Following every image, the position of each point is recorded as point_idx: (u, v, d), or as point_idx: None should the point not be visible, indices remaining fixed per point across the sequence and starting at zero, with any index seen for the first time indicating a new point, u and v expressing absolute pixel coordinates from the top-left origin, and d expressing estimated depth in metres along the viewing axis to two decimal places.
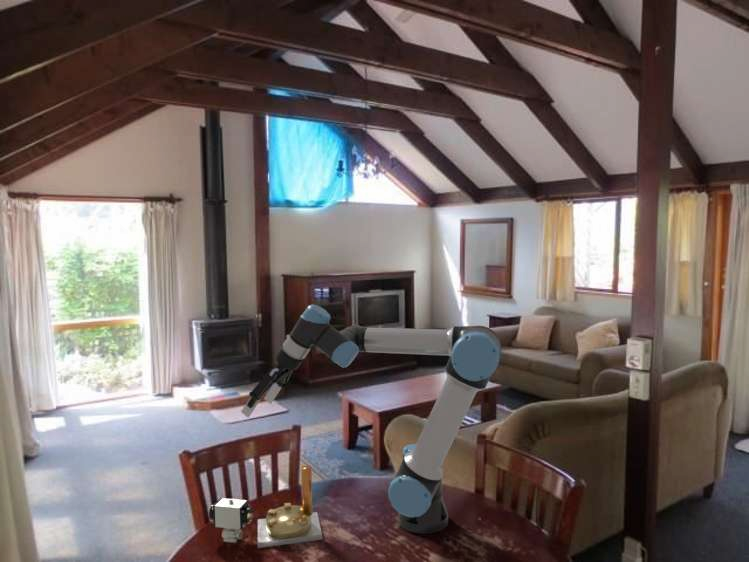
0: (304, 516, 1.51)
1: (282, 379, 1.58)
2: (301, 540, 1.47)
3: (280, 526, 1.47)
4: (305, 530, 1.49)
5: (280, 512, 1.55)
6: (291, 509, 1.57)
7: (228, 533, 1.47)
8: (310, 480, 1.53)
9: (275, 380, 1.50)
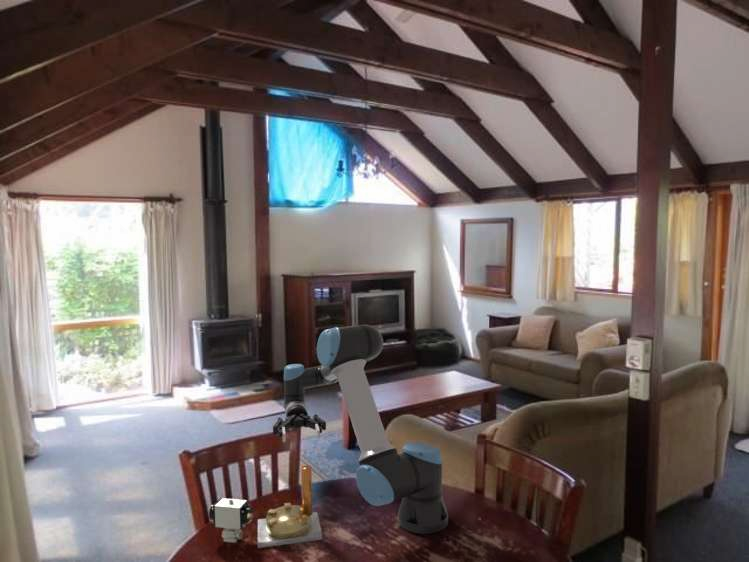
0: (304, 516, 1.51)
1: (309, 422, 1.75)
2: (301, 540, 1.47)
3: (280, 526, 1.47)
4: (305, 530, 1.49)
5: (280, 512, 1.55)
6: (291, 509, 1.57)
7: (228, 533, 1.47)
8: (310, 480, 1.53)
9: None
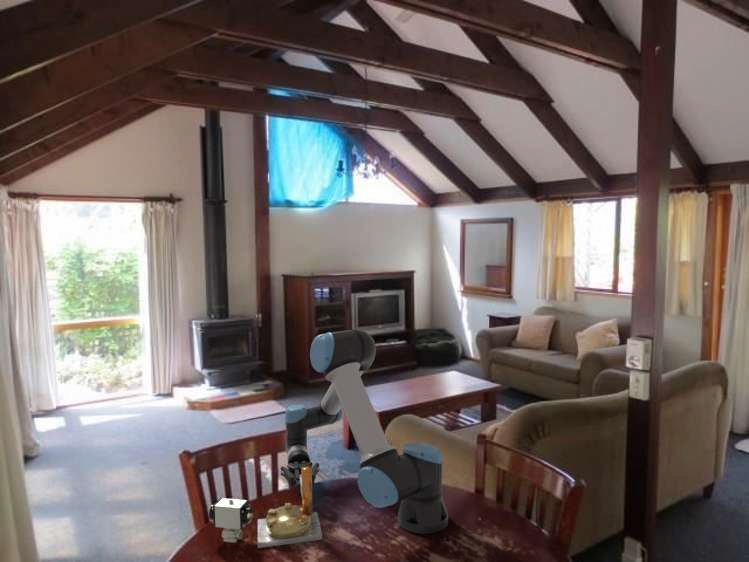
0: (304, 516, 1.51)
1: None
2: (301, 540, 1.47)
3: (280, 526, 1.47)
4: (305, 530, 1.49)
5: (280, 511, 1.55)
6: (291, 509, 1.57)
7: (228, 533, 1.47)
8: (310, 480, 1.52)
9: (294, 468, 1.68)
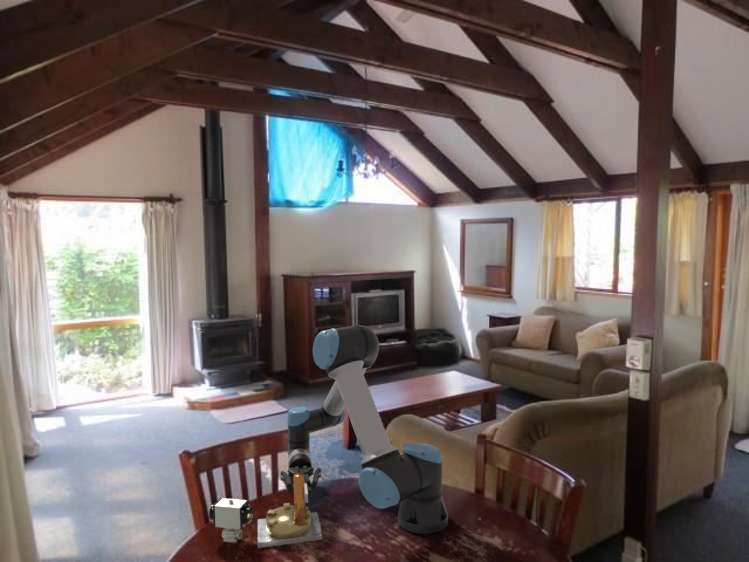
0: (289, 522, 1.48)
1: (304, 477, 1.62)
2: (301, 540, 1.47)
3: (268, 519, 1.51)
4: (284, 536, 1.46)
5: (292, 509, 1.57)
6: None
7: (228, 533, 1.47)
8: (298, 489, 1.47)
9: (294, 473, 1.64)
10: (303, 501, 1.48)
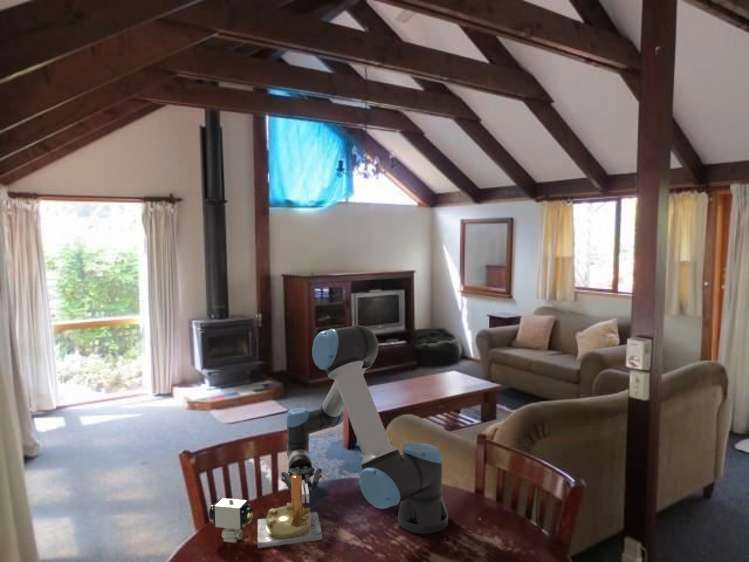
0: (286, 522, 1.47)
1: (305, 478, 1.61)
2: (301, 540, 1.47)
3: (268, 518, 1.52)
4: (281, 536, 1.47)
5: None
6: None
7: (228, 533, 1.47)
8: (295, 490, 1.46)
9: None
10: (300, 502, 1.47)
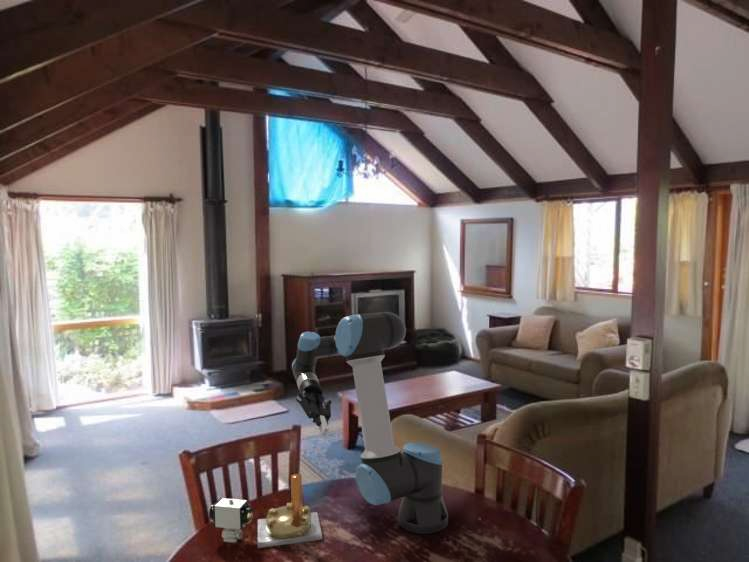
0: (286, 522, 1.47)
1: (319, 407, 1.74)
2: (301, 540, 1.47)
3: (268, 518, 1.52)
4: (281, 536, 1.47)
5: None
6: None
7: (228, 533, 1.47)
8: (295, 490, 1.46)
9: (312, 400, 1.74)
10: (300, 502, 1.47)
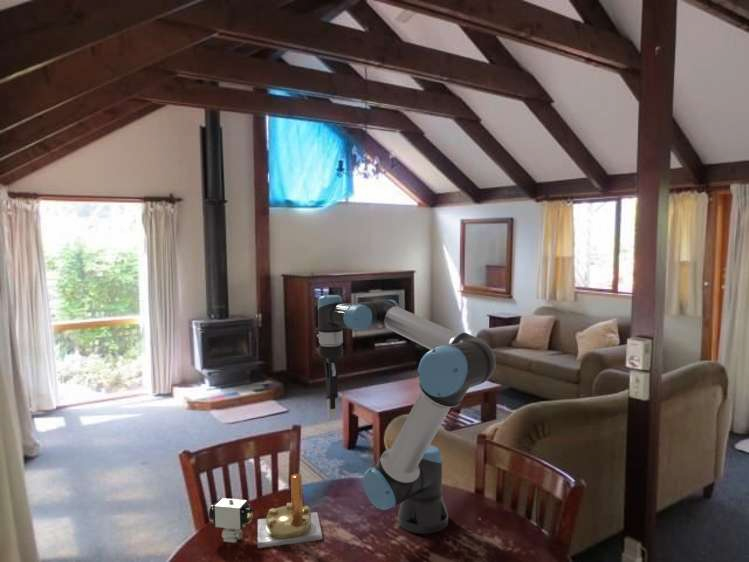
0: (286, 522, 1.47)
1: None
2: (301, 540, 1.47)
3: (268, 518, 1.52)
4: (281, 536, 1.47)
5: None
6: None
7: (228, 533, 1.47)
8: (295, 490, 1.46)
9: None
10: (300, 502, 1.47)
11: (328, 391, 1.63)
